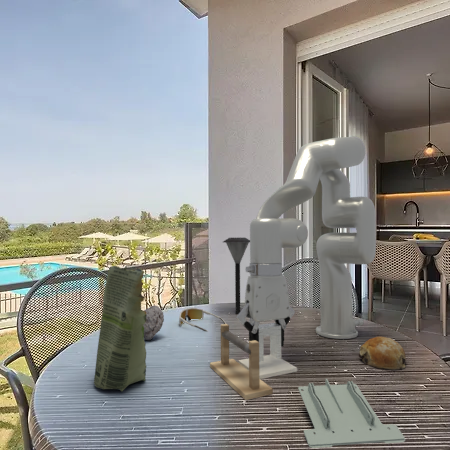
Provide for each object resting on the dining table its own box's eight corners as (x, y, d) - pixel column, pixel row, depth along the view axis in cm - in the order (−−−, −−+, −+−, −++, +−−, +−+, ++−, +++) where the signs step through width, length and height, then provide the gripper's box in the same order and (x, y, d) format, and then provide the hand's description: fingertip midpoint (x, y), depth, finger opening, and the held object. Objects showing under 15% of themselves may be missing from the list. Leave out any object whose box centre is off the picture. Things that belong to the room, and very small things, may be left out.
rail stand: (210, 366, 81) (209, 324, 81) (232, 362, 84) (232, 321, 84) (245, 400, 65) (245, 346, 65) (272, 393, 67) (272, 342, 67)
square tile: (273, 357, 87) (273, 354, 87) (297, 371, 78) (297, 367, 78) (238, 363, 83) (238, 360, 83) (259, 379, 74) (259, 375, 74)
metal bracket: (286, 375, 63) (365, 372, 64) (284, 402, 64) (361, 398, 66) (313, 443, 49) (412, 437, 50) (309, 475, 50) (406, 468, 52)
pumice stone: (159, 333, 109) (159, 301, 109) (168, 339, 102) (168, 306, 102) (126, 338, 103) (126, 305, 104) (134, 345, 97) (134, 310, 97)
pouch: (104, 371, 79) (105, 262, 79) (156, 372, 78) (156, 262, 79) (83, 394, 67) (84, 267, 68) (143, 395, 67) (143, 267, 68)
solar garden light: (259, 313, 135) (259, 237, 135) (239, 319, 126) (238, 237, 127) (236, 309, 143) (236, 237, 144) (215, 314, 134) (215, 237, 135)
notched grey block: (274, 353, 83) (274, 322, 84) (281, 357, 81) (280, 325, 81) (252, 357, 81) (252, 325, 81) (259, 361, 78) (258, 328, 78)
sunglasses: (197, 317, 129) (198, 305, 129) (229, 330, 121) (231, 316, 120) (170, 326, 118) (172, 312, 118) (203, 340, 109) (205, 325, 109)
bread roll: (395, 388, 77) (411, 359, 76) (351, 361, 82) (366, 333, 81) (399, 373, 86) (414, 346, 84) (359, 349, 91) (373, 323, 89)
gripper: (240, 274, 74) (241, 358, 74) (305, 270, 81) (306, 346, 81) (226, 270, 81) (227, 347, 81) (287, 267, 88) (288, 337, 88)
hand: (266, 346), depth 81 cm, fingers closed on notched grey block, 6 cm apart
